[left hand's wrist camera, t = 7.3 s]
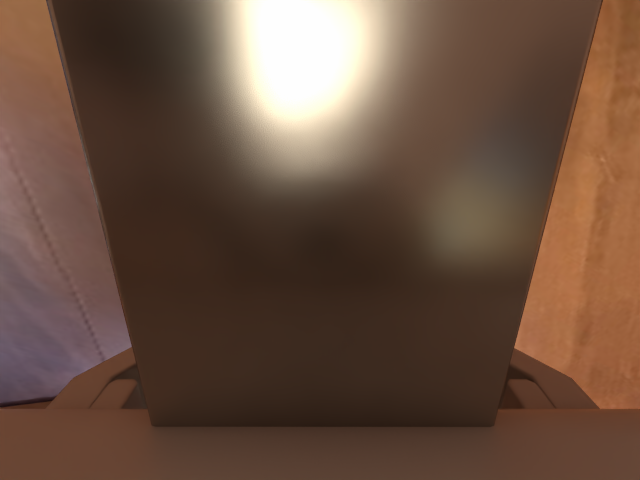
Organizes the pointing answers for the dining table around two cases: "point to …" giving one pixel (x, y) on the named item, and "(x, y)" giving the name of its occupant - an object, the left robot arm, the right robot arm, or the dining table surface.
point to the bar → (323, 196)
